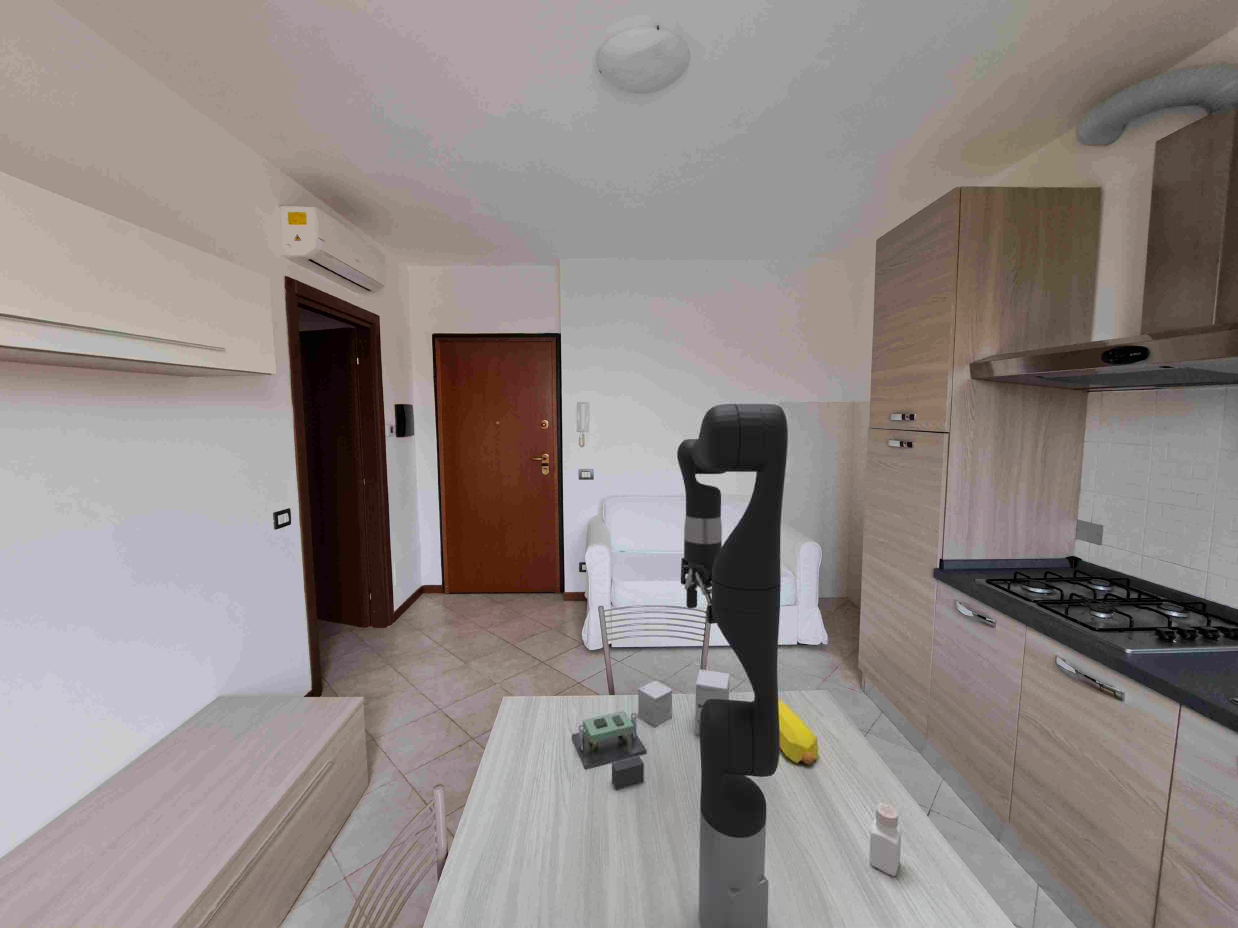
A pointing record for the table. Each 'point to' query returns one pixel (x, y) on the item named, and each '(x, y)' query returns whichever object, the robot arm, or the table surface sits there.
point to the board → (608, 726)
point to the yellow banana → (796, 736)
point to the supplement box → (709, 691)
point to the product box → (655, 703)
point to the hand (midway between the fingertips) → (701, 614)
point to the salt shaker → (885, 840)
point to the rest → (627, 772)
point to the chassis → (608, 747)
